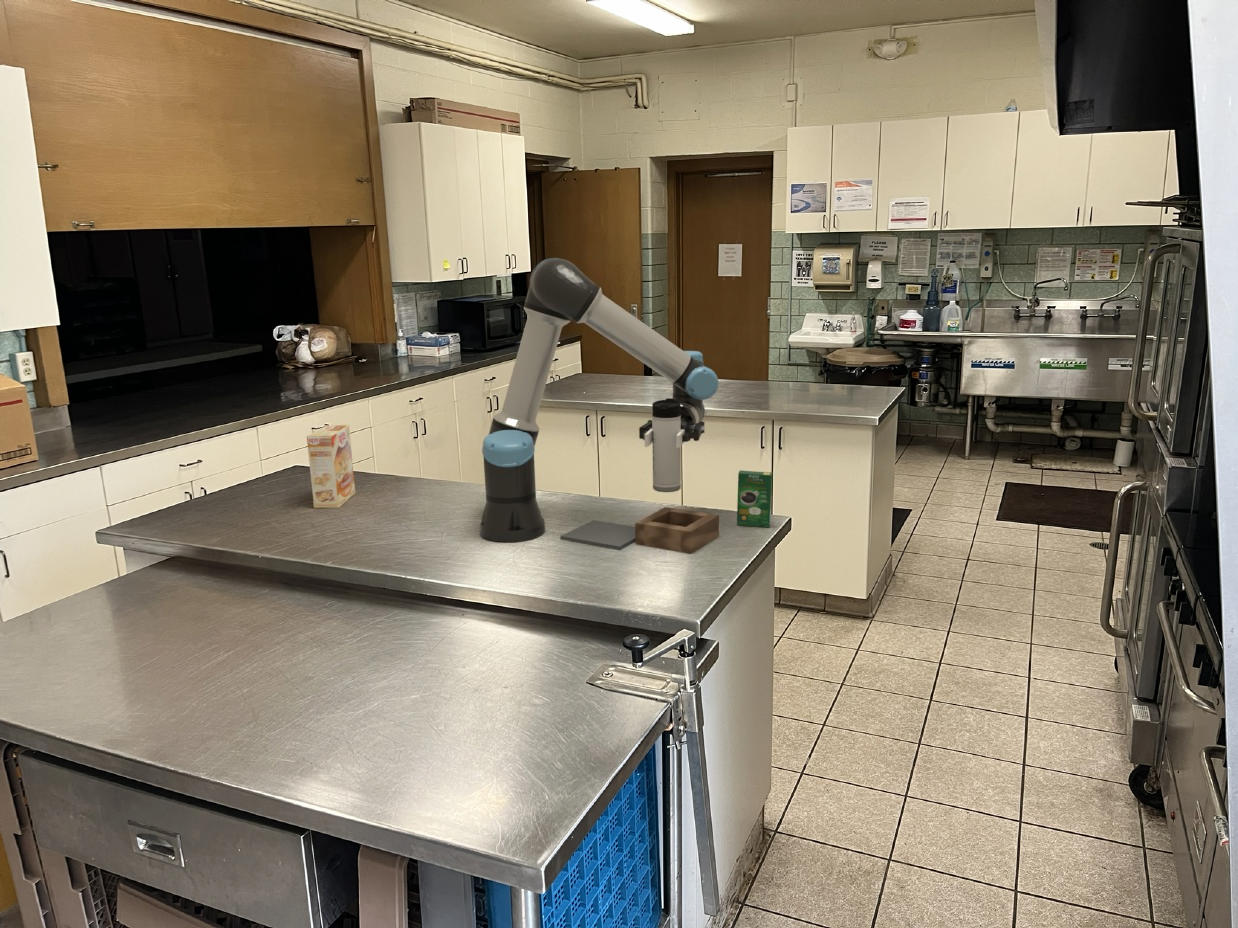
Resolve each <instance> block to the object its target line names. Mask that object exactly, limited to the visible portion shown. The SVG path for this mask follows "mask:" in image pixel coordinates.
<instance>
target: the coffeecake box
mask: <svg viewBox="0 0 1238 928" xmlns="http://www.w3.org/2000/svg"><path fill="white" fill-rule="evenodd" d="M350 430H351V429H350V425H346V424H345V425H343V424H341V425H324V426H323V427H321V428H319V429H318V430H316V431H314V432H312V433H310V434H309V435H307V436H306V442H307V454H308V462H309V471H310V472H309V473H310V481H311V490H312V499H313V500H312V501H313V508H314V509H319V508H320V509H338V508H341V507H342V505H344V504H345V503H346V502H347V501H348V500H349V499H350V498H351V497H353V496H354V495H355V494H356V487H355V486H356V485H355V477H354V476H355V475H354V465H353V455H352V443H351V442H352V441H351V434H350V433H351V432H350Z"/></svg>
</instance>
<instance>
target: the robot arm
mask: <svg viewBox="0 0 1238 928" xmlns="http://www.w3.org/2000/svg"><path fill="white" fill-rule="evenodd" d="M523 310H524V311H525V313H526V315H527V319H526V322H525V325H524V329H523V334H522V336H521V339H520V345H519V347H518V350H517V354H516V358H515V362H514V365H513V368H512V373H511V376H510V379H509V383H508V386H507V387H508V388H507V391H506V394H505V398H504V402H503V405H502V408H501V411H500V412H499V413H497V414H494V415H493V418H492V421H491V424H490V428H489V432H488V435H486V436H485V437H484V439H483V442H482V449H481V450H482V451H481V453H482V455H483V469H484V470H483V471H484V473H483V474H484V484H485V485H484V487H485V505H484V510H483V513H482V516H481V521H480V525H479V527H480V528H479V529H480V537H482V538H483V539H485V540H489V541H491V542H492V541H493V542H500V543H501V542H503V543H512V542H523V541H528V540H532V539H535V538H536V539H537V537H540V536H542V535H543V534H544V533H545V531H546V524H545V523H546V522H545V519H544V517H543V515H542V512H541V509H540V506H539V504H538V501H537V491H536V469H535V451H536V450H535V448H536V447H535V446H536V443H537V439H538V436H539V432H540V427H539V425H538V423H537V421H536V420H537V416H538V414H539V410H540V407H541V403H542V400H543V396H544V392H545V388H546V386H547V385H546V384H547V383H548V382H547V381H548V378H549V374H550V372H551V368H552V364H553V361H554V357H555V353H556V350H557V346H558V343H559V340H560V336H561V333H562V329H563V327H564V326H567V325H568V324H569V323H571V322H572V321H573V322H574V323H576V324H583V323H584V324H585V325H586V326H588V327H590V328H591V329H593V330H594V331H596V332H598V334H600V335H602V336H603V337H605V338H606V339H608V340H609V341H610V342H612V343H613V344H615V345H616V346H618V347H619V348H621V349H623V350H624V351H626V353H628V354H629V355H630V356H633V357H634V358H636V359H637V360H638V361H640V362H641V363H642V364H644V365H646V367H648V368H651V370H653V371H655V372H656V373H657V374H659V375H661V376H662V378H663V377H664V378H665V379H666V380H668V381H669V382H671V383H672V399H674V400H677V401H679V402H680V415H681V418H680V419H681V431H680V432H679V433H678V434H677V435H676V448H680V447H682V445H684V444H685V443H687V442H690V441H691V440H692V439H693V442H694V441H695V442H698V441H700V438H701V436H702V434H705V421H703V420H704V418H705V414H706V408H705V405H704V402H703V401H705V400H708V399H710V398H712V397H713V396H714V395H715V394H716V393H717V391H718V389H719V379H718V376H717V374H716V373H715V371H714V370H713V369H712V368H710V367H707V366H705V365H704V363H705V362H704V358H703V356H704V355H703V352H700V351H698V350H683V349H681V348H679V347H678V346H677V345H676V344H674V343H672V341H670V340H669V339H667V338H666V337H664V336H663V335H661V334H660V333H658V332H657V331H656V330H654V329H653V328H652V327H650V326H648V325H647V324H646V323H644V322H643V321H641V320H640V319H638V318H637V317H636V316H634V315H633V314H631V313H630V312H628V311H627V310H625V308H623V307H621V306H620V305H618V304H617V303H616V302H614V301H612V300H611V299H610V298H608V297H607V296H606V295H604V294H603V292H602V288H601V286H599V285H598V284H596V283H595V282H593V281H592V280H591V279H590V278H589V277H587V276H586V275H585V274H584V272H582V271H581V269H579V268H578V267H577V266H576V265H575V264H574V263H572V261H569V260H568V259H563V258H557V257H551V258H550V257H549V258H547V259H544V260H542V261H541V262H539V263H538V264H537V265H536V266H535V267H534V269H533V270H532V272H531V275H530V278H529V286H528V291H527V294H526V298H525V302H524V305H523ZM638 432H639V433H638V435H639V439H640V440H642V441H644V447H647V448H648V447H650V445H652V419H648V420H647V422H645V424H643V425H641V426H640V427H639V428H638Z"/></svg>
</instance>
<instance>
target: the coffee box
mask: <svg viewBox="0 0 1238 928" xmlns="http://www.w3.org/2000/svg"><path fill="white" fill-rule="evenodd" d="M737 475H738V476H737V477H738V478H737V501H736V502H737V504H736V508H737V510H736V511H737V512H736V526H739V527H740V526H743V527H759V528H771V518H772V517H771V515H772V514H771V513H772V496H773V495H772V493H773V492H772V491H773V490H772V489H773V472H768V471H767V472H766V471H753V470H741V469H740V470H739V471H738V474H737Z"/></svg>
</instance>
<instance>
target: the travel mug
mask: <svg viewBox="0 0 1238 928" xmlns="http://www.w3.org/2000/svg"><path fill="white" fill-rule="evenodd" d="M651 406H652V407H651V408H652V415H651V418H652V419H651V420H652V443H651V445H652V489H653V491H655V492H660V493H674V492H678V491H680V490H681V488H682V486H681V485H682V477H681V476H682V475H681V474H682V471H681V470H682V465H681V463H682V462H681V461H682V455H681V451H682V450H681V447H682V446H681V447H680V448H676V435H677V434H678V433H679V432H680V431H681V419H680V418H681V415H680V402H679V401H677V400H674V399H673V397H672V398H665V399H660V400H656V401H654V402H653V403H652V405H651Z"/></svg>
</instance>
